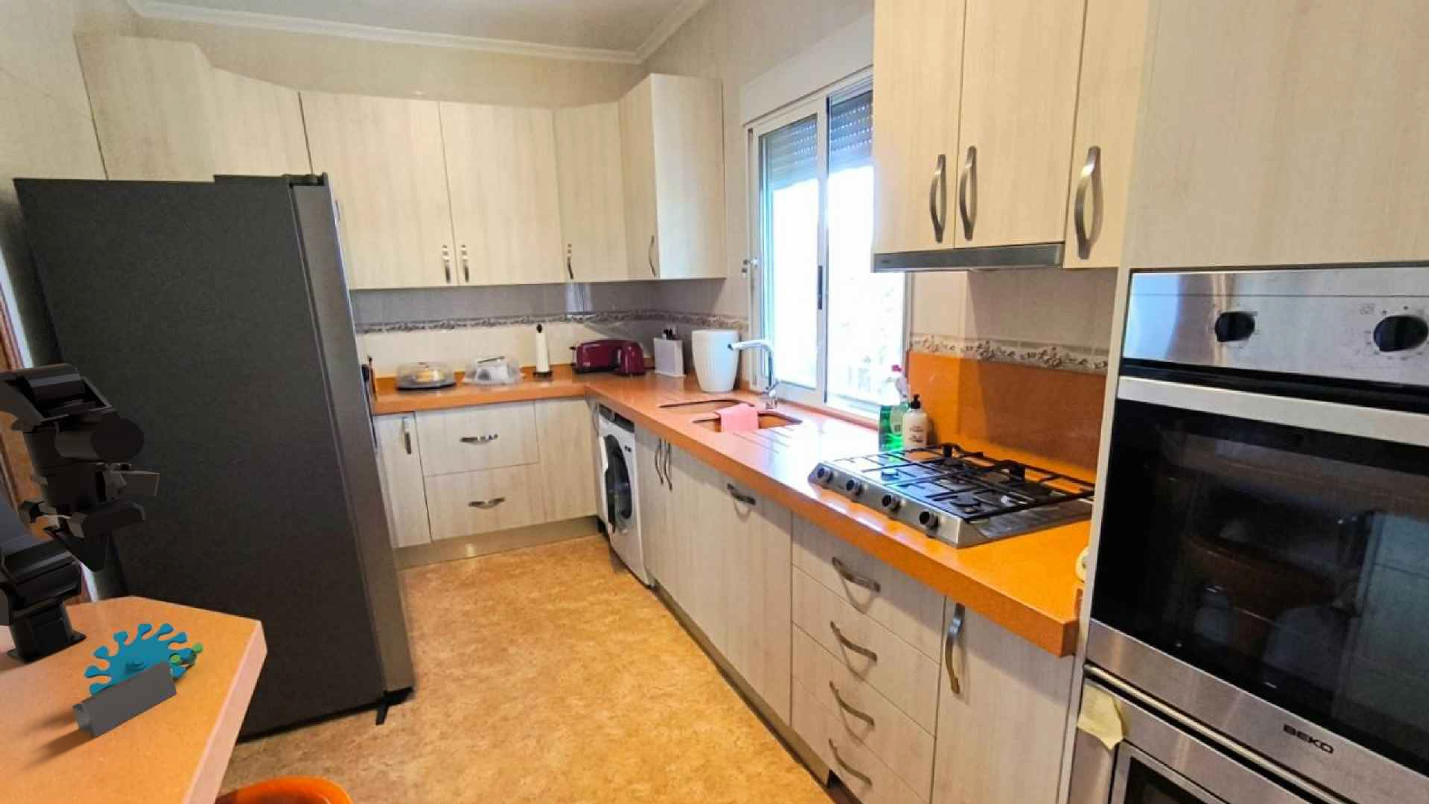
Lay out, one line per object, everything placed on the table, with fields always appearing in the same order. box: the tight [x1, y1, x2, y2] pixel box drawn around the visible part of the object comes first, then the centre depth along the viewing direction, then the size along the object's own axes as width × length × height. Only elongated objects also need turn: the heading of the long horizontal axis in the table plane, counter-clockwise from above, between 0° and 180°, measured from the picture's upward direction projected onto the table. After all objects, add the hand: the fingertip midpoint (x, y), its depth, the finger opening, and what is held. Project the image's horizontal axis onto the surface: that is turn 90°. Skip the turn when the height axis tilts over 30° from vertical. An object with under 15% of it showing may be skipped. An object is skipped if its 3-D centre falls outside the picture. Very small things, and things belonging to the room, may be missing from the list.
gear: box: [83, 622, 204, 696], centre depth 79 cm, size 11×6×10 cm
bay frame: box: [71, 661, 178, 738], centre depth 73 cm, size 4×8×4 cm, turn 156°
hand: (98, 570), depth 83 cm, fingers closed
